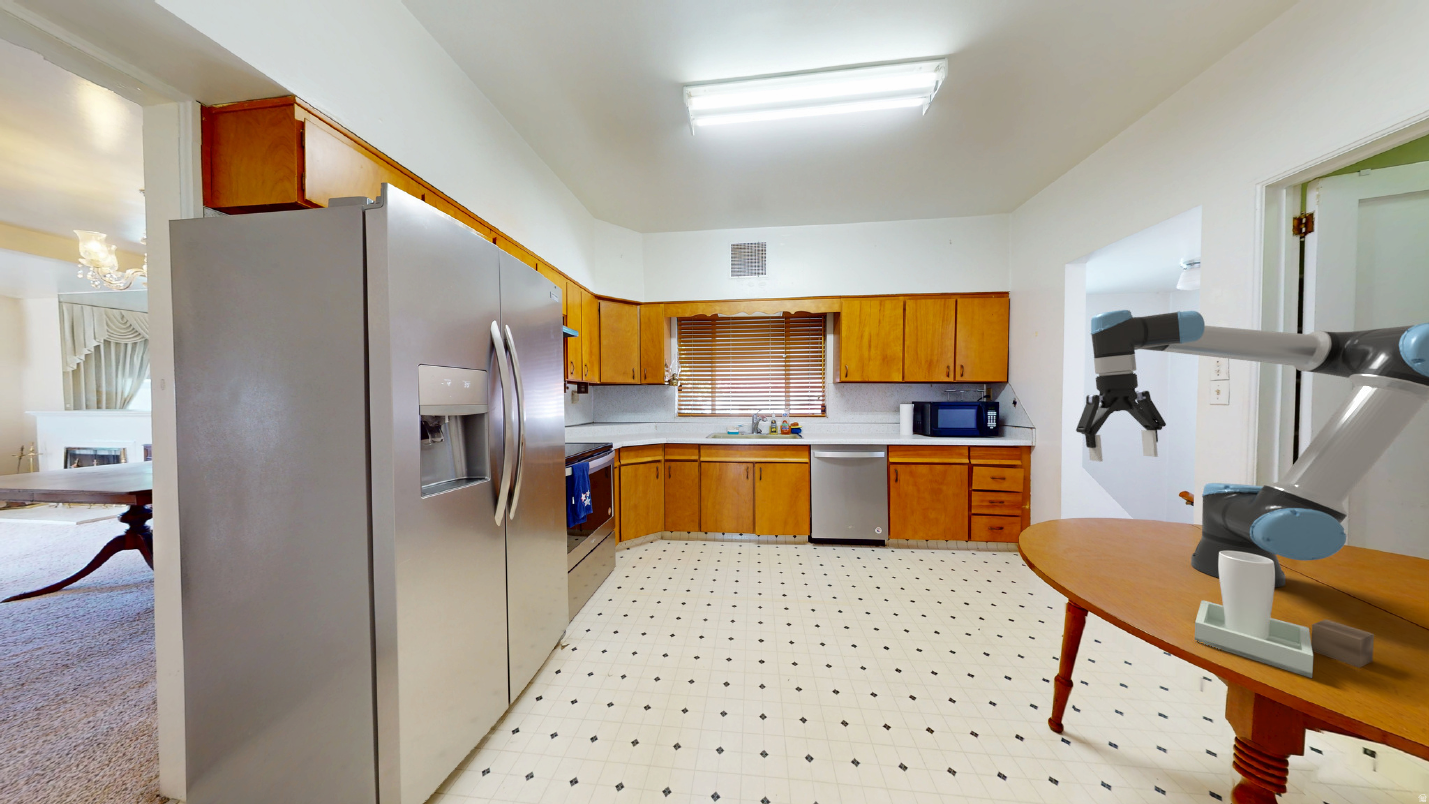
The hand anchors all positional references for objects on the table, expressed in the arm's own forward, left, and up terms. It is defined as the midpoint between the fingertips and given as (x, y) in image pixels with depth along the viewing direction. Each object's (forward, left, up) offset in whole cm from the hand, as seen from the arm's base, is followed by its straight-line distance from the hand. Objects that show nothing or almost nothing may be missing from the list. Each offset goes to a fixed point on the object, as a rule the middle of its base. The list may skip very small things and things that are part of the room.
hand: (1123, 458), depth 106 cm
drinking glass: (-1, +25, -30) cm, 39 cm away
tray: (0, +27, -30) cm, 41 cm away
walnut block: (-12, +30, -31) cm, 45 cm away
